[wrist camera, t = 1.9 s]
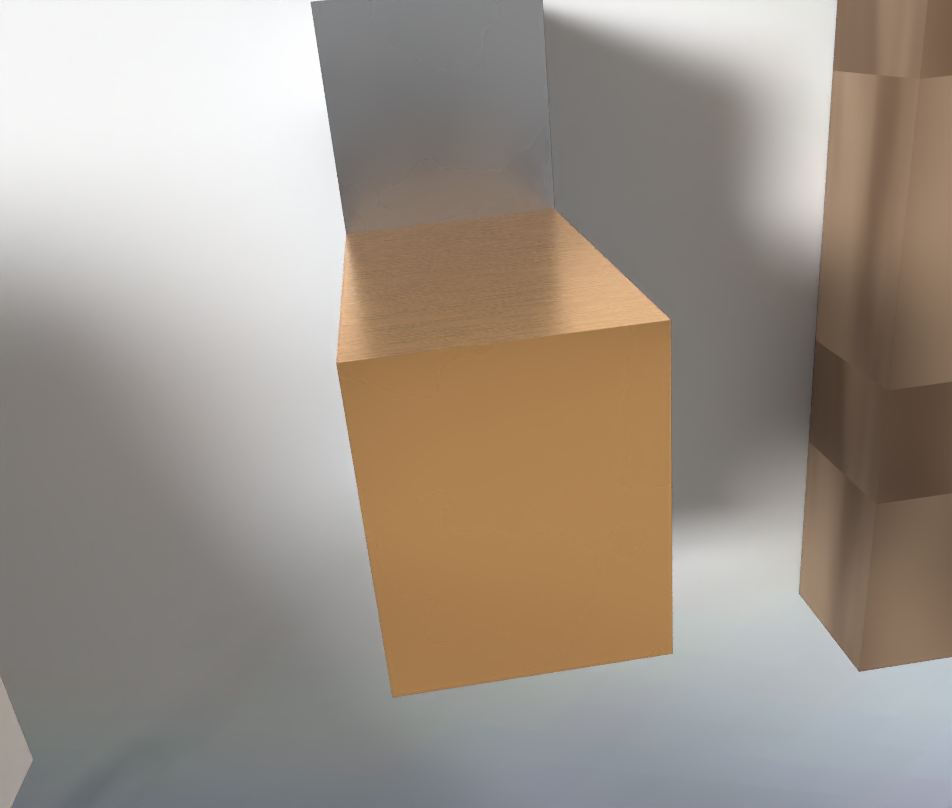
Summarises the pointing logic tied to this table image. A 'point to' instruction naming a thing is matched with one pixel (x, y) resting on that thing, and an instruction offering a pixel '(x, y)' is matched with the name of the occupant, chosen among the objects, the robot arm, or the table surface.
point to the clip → (488, 360)
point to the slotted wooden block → (884, 342)
